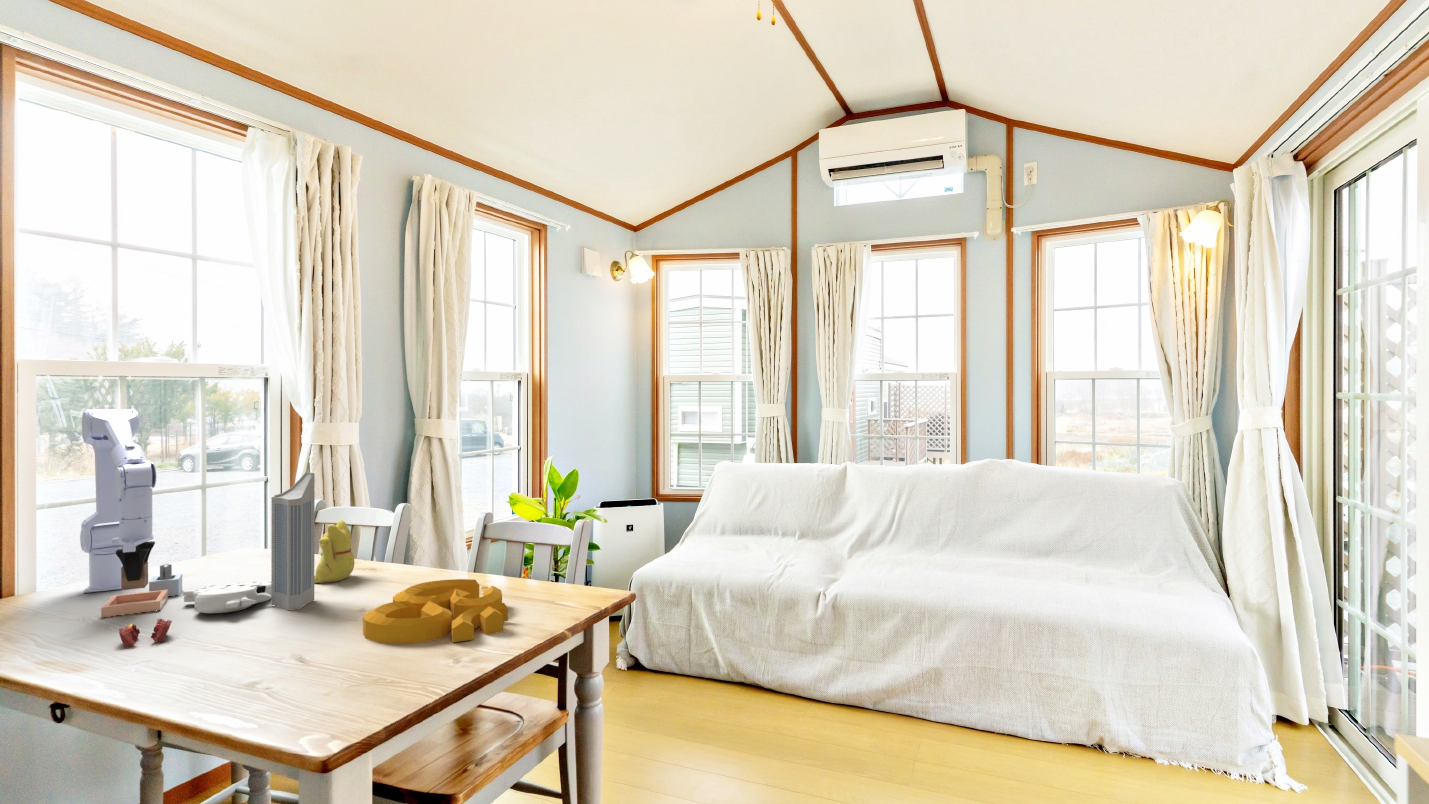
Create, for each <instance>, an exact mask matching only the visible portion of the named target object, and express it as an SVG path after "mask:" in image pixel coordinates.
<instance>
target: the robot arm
mask: <svg viewBox="0 0 1429 804" xmlns="http://www.w3.org/2000/svg"><path fill="white" fill-rule="evenodd" d="M139 426H140V418H139V413H138V411H137V410H136V409H135V408H128V409H126V408H124V409H123V408H121V409H112V408H111V409H90V408H86V409H85V410H84V411H83V413H82V416H81V434H82V435H81V437H82V440H83V443H84V444H87V445H90V446H92V449H93V452H94V470H95V471H94V472H95V473H94V474H95V475H94V476H95V505H96V507H95V508H96V509H95V510H96V511H95V512H94V513H92V514H91V515H90V516H88V517H86V518H85V519H83V521H82V522H81V527H80V528H81V529H80V530H81V531H80V538H79V540H80V541H79V542H80V547H81V551H82V552H84V553H85V554H86V553H88V558H89V559H88V560H89V561H88V562H89V563H88V566H89V567H88V575H89V576H88V579H89V581H88V586H87V588H85V589H84V590H83V593H84V594H86V593H95V592H105V591H115V590H116V591H117V590H121V567H123V568H124V571H125V575H126V578H127V581H135V580H140V578H141V575H142V569H143V564H144V562H148V563H149V558H150V554H151V552H152V549H153V548H154V546H155V544H156V542H155V540H154V534H153V489H154V488H155V487H156V484H157V469H156V466H155V463H154V462H151V460H147V458H146V455H145V453H144V449H143V448H142V446H141V445H139V443H135V442H134V437H135V435H136V433H137V432H138V431H139ZM100 524H101V525H100ZM152 540H154V541H152Z"/></svg>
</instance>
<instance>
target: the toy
mask: <svg viewBox="0 0 1429 804" xmlns="http://www.w3.org/2000/svg"><path fill="white" fill-rule="evenodd" d="M182 591H183V592H182V596H183V601H184V602H185V603H191V602H194V610H195V611H196V612H198V613H203V614H224V613H226V614H227V613H231V612H237V611H241V610H246V609H248V608H250V607H253V606H254V605H255V604H259V603H262V602H267V601H268V600H269V601H270V600H271V581H249V582H247V581H245V582H235V583H225V584H220V585H206V586H204V587H203V588H199V589H192V590H191V589H190V590H182Z"/></svg>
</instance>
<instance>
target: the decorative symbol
mask: <svg viewBox="0 0 1429 804" xmlns="http://www.w3.org/2000/svg"><path fill="white" fill-rule="evenodd" d="M482 594H483V596H480V584H479V582H478V581H477V580H476V579H468V578H467V579H465V578H464V579H463V578H462V579H461V578H460V579H459V578H458V579H454V578H453V579H441V580H432V581H426V582H422V583H421V582H420V583H417V584H414V585H411V586H409V587H407V588H405V589H403V590H402V591H400V592H398V593H396V594H394V595H393V597H392V602H387V603H383V604H382V605H379V606H378V607H375V608H373V609H371V610H369V611H368V612H366V613H364V614H363V617H362V636H363V635H364V636H363V637H364V639H366V640H368V641H371V642H376V643H378V644H379V643H380V644H382V643H383V644H388V645H389V644H393V645H401V644H402V645H405V644H406V645H411V644H420V643H428V642H431V641H437V640H441V639H443V638H445V637H447V636H448V635H451V641H452V643H457V642H464V641H465V642H466V641H472V640H475V629H476V628H478V627H479V631H481V632H482V633H483V635H485V636H486V634H487V635H491V634H496V632H498V633H502V632H501V631H503V632H504V622H508V621H509V608H508V606H507V605H506V604H505V602H503V592H502V589H500V588H498V587H496V586H495V585H491V586H489V587H488V588H486V589H485V590H484V591H483V593H482Z"/></svg>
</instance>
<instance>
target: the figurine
mask: <svg viewBox="0 0 1429 804" xmlns="http://www.w3.org/2000/svg"><path fill="white" fill-rule="evenodd" d="M352 541H353V539H352V531H351V530H350V529H349V527H348V524H347V522H346V521H344V520H342V519H340V520H338V521H337V523H336V525H335V524H332V523H331V524H329V525H328V526H327V532H325V533H324V534H323V536H322V537H321V538H320V539H319V540H318V544H319V546H320V548H321V550H322V552H320V556H321V558H320V560H319V562H318V564H317V566H316V568H315V574H314V584H325V583H334V582H339V581H342V580H345V579H346V578H348V577H349V576H351V574H352V572H353V571H354V568H355V556H354V553H353V551H352Z"/></svg>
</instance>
